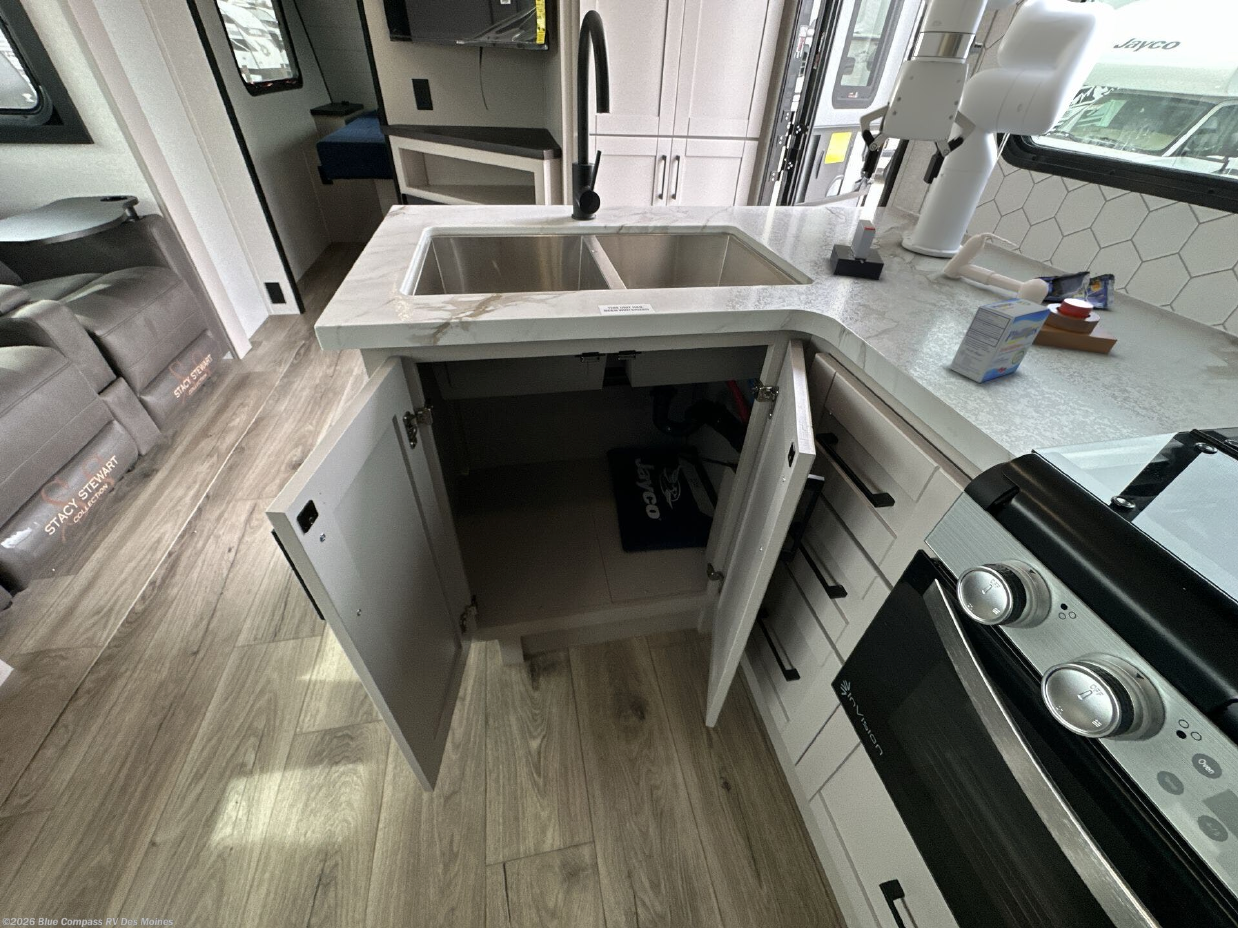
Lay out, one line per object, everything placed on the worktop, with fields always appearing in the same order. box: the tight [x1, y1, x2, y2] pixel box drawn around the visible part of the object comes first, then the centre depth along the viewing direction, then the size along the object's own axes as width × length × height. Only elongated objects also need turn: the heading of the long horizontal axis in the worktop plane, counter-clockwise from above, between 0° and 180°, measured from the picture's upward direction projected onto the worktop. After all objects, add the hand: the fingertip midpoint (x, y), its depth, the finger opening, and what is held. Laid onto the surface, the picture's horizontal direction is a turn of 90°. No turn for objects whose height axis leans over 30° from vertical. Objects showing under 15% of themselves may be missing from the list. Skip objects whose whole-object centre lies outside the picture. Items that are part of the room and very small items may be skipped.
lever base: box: [824, 243, 893, 281], centre depth 98 cm, size 12×12×3 cm
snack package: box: [1034, 270, 1116, 310], centre depth 89 cm, size 12×6×12 cm
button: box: [1058, 299, 1094, 318], centre depth 74 cm, size 4×4×2 cm
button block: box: [1031, 303, 1118, 355], centre depth 75 cm, size 8×10×4 cm
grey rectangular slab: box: [850, 219, 877, 260], centre depth 95 cm, size 8×2×5 cm, turn 166°
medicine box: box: [948, 297, 1051, 384], centre depth 64 cm, size 8×4×9 cm, turn 117°
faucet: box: [943, 232, 1048, 305], centre depth 90 cm, size 4×18×10 cm, turn 26°
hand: (896, 180), depth 87 cm, fingers open, 9 cm apart
